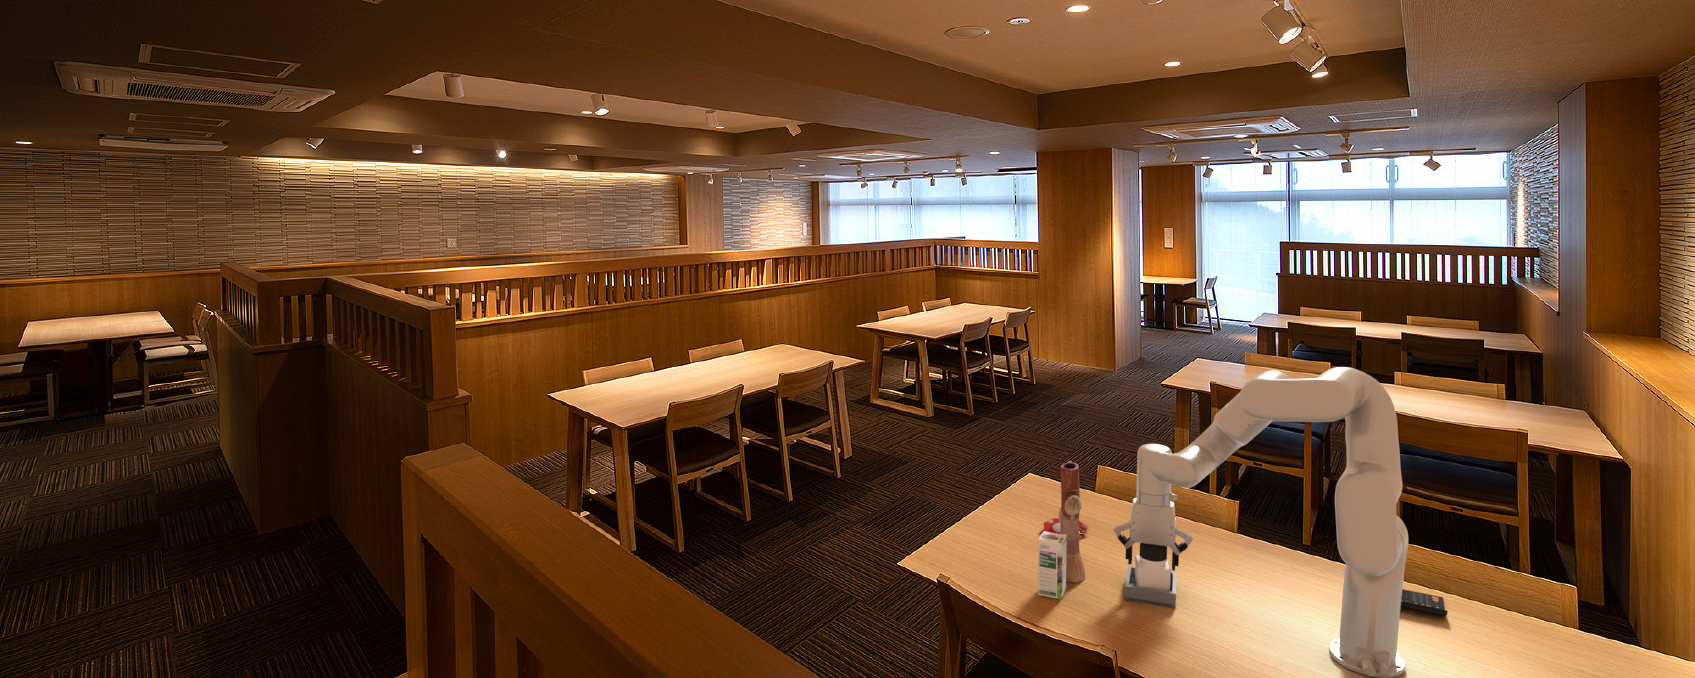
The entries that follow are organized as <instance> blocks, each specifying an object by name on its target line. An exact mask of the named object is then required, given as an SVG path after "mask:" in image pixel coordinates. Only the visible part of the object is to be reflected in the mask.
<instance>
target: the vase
mask: <svg viewBox="0 0 1695 678" xmlns="http://www.w3.org/2000/svg"><path fill="white" fill-rule="evenodd" d="M1059 469H1060V491H1061V492H1060V493H1061V496H1060V497H1061V499H1060V500H1061V503H1060V505H1061V506H1060V508H1059V512H1058V519H1059V521H1060V526H1061V528H1060V534H1065V535H1066V537H1067V539H1066V583H1079V582H1083V581H1084V580H1085V579H1086V571H1085V570H1086V569H1085V564H1084V561H1083V558H1082V554H1081V551H1080V534H1079V520H1080V513H1081V510H1082V501H1081V499H1080V498H1081V497H1080V496H1081V495H1080V494H1081V489H1080V486H1081V485H1080V471H1079V469H1080V467H1079V464H1078V463H1075V462H1072V461H1071V460H1069V461H1067V462H1065V463H1063V464H1061V465H1060V468H1059Z"/></svg>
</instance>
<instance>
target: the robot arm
mask: <svg viewBox="0 0 1695 678" xmlns="http://www.w3.org/2000/svg"><path fill="white" fill-rule="evenodd" d="M1396 413H1397V412H1396V408H1395V404H1394V403H1393V400H1392V398H1391V395H1389V393H1388V391H1387V390H1386V388H1384V386H1383V385H1382V384H1381V382H1379V381H1378V380H1377V379H1376V378H1374V377H1372V375H1369V374H1367V373H1366V372H1364V371H1362V370H1359V369H1356V368H1353V367H1347V366H1346V367H1345V366H1340V367H1338V366H1337V367H1332V368H1330V369H1328V370H1326V371H1324V372H1322V373H1320V374H1319V375H1318V376H1317V377H1315V378H1296V379H1295V378H1292V377H1290V376H1289V375H1287V374H1286V373H1284V372H1282V371H1278V370H1267V371H1264V372H1261V373H1259V374H1257V375H1256V376H1255V377H1253V378H1252V379H1250V380H1248V381H1247V382H1246V383H1245V384H1244V385H1243V387H1242V388H1241V390H1240V392H1238V393H1237V394H1236V395H1235V396H1234V397H1233V398H1232V399H1231V400H1230V401H1228V403H1226V405H1224V406H1223V407H1222V408H1221V409H1220V410H1219V411H1217V413H1216V414H1215V415H1214V417H1213V421H1212V423H1211V424H1210V425H1209V426H1208V427H1207V428H1206V429H1205V430H1204V431H1202V433H1201V434H1200V435H1199V436H1197V438H1196V439H1195V440H1193V441H1192V442H1191V443H1190V444H1189V445H1187V446H1186V447H1185V448H1183V449H1182V450H1180V451H1179V452H1176V453H1175V452H1174V453H1173V452H1172V449H1171V448H1170V447H1168V446H1166V445H1163V444H1159V443H1147V444H1146V443H1145V444H1142V445H1140V446H1139V447H1138V450H1137V456H1136V457H1137V459H1136V462H1137V463H1136V497H1134V498H1133V500H1132V504H1131V507H1130V509H1131V510H1130V517H1129V521H1127V522H1124V523H1121V524H1118V525H1115V526H1114V527H1113V532H1114V533H1115V535H1116V537H1117V540H1118V541H1119V542H1120V543H1121V544H1122V545H1123V546H1124V549H1125V560H1128V563H1127V565H1129V566H1132V564H1133V545H1134V544H1135V543H1138V544H1140V543H1144V544H1151V545H1159V546H1167V547H1169V548H1170V549H1171V551H1172V552H1171V553H1172V556H1171V571H1172V572H1176V567H1179V559H1180V556H1181V554H1182V553H1183V552H1184V551H1186V550H1187V549H1188V547H1189V546H1190V544H1192V541H1193V535H1192V534H1190V533H1188V532H1186V531H1185V530H1183V529H1181V528H1179V527H1178V526H1177V515H1176V507H1175V503H1174V501H1178V498H1179V497H1178V494H1177V493H1176V494H1175V493H1173V492H1172V485H1173V486H1175V487H1179V488H1181V489H1188V488H1192V487H1194V486H1196V485H1197V484H1199V483H1200V482H1202V481H1203V479H1205V478H1206V477H1207V476H1208V475H1210V474H1211V473H1212V472H1213V471H1215V470H1216V469H1217V468H1218V467H1219V466H1220V465H1221V464H1222V463H1224V462H1225V461H1226V460H1227V459H1228V458H1230V457H1231V455H1233V454H1234V453H1235V452H1237V450H1239V449H1240V448H1241V447H1244V446H1246V445H1247V444H1248V443H1249V442H1250V441H1252V440H1253V439H1254V438H1255V437H1256V436H1257V435H1259V434H1260V433H1261V432H1262V431H1264V430H1265V428H1266V427H1268V426H1269V425H1270V424H1272V422H1287V423H1288V422H1293V423H1294V422H1295V423H1296V422H1298V423H1300V422H1301V423H1303V422H1305V423H1329V422H1335V421H1340V420H1342V419H1344V420H1345V436H1344V437H1345V446H1346V447H1345V448H1346V449H1345V450H1346V467H1345V470H1344V472H1342V474H1341V476H1340V477H1339V479H1338V481H1337V482H1336V485H1335V493H1334V509H1335V512H1334V513H1335V525H1336V529H1335V530H1336V543H1337V549H1338V553H1339V556H1340V557H1341V558H1340V559H1342V561H1343V562H1344V563H1345V565H1344V576H1343V586H1342V600H1341V613H1340V627H1339V637H1338V638H1337V639H1334V640H1333V641H1331V642H1330V644H1329V653H1330V656H1331V657H1332V659H1334V661H1336V662H1337V663H1338V664H1339V665H1341V666H1343V667H1345V668H1346V669H1347V670H1350V671H1353V672H1355V673H1358V674H1360V673H1361V675H1363V674H1364V676H1368V677H1372V678H1373V677H1374V678H1396V677H1399V676H1400V675H1402V674H1403V673H1405V670H1406V662H1405V660H1404V658H1403V657H1402V656H1401V655H1400V654H1399V653H1398V652H1397V650H1398V640H1399V630H1400V629H1399V628H1400V618H1401V607H1402V606H1401V596H1402V589H1404V588H1403V586H1404V577H1405V567H1406V561H1407V555H1408V548H1409V533H1408V529H1407V527H1406V525H1405V523H1404V521H1403V520H1402V518H1400V517H1399V516H1398V515H1397V503H1398V501H1399V498H1400V497H1401V495H1402V493H1403V492H1402V491H1403V486H1404V485H1403V478H1402V470H1401V454H1400V453H1401V451H1400V443H1399V432H1398V431H1399V429H1398V420H1397V414H1396ZM1126 530H1129V536H1128V537H1127V536H1125V535H1124V534H1123V532H1124V531H1126ZM1177 536H1178V537H1180V538H1181V539H1183V541H1182V542H1180V543H1179V544H1178V543H1177V541H1176V539H1177Z"/></svg>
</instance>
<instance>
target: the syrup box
mask: <svg viewBox="0 0 1695 678" xmlns="http://www.w3.org/2000/svg"><path fill="white" fill-rule="evenodd" d="M1066 539H1067V537H1066V535H1065V534H1057V533H1050V532H1046V531H1043V532H1042V533H1041V534H1040V535H1039V538H1038V540H1037V558H1038V559H1037V564H1038V565H1037V567H1038V568H1037V569H1038V570H1037V572H1038V573H1037V576H1038V577H1037V578H1038V579H1037V582H1038V584H1037V596H1040V597H1042V596H1043V597H1046V598H1050V599H1051V598H1052V599H1055V600H1060V601H1061V600H1062V598H1063V597H1064V594H1065V593H1066V589H1067V582H1066Z"/></svg>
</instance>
